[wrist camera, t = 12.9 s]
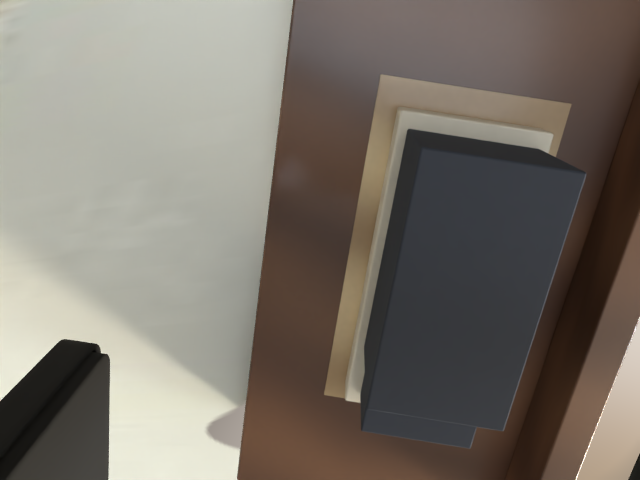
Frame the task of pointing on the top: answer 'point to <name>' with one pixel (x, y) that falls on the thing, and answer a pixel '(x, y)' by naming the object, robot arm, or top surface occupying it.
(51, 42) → the top surface
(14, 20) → the top surface
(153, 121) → the top surface
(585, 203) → the wooden bench
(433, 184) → the stepped dark grey block
